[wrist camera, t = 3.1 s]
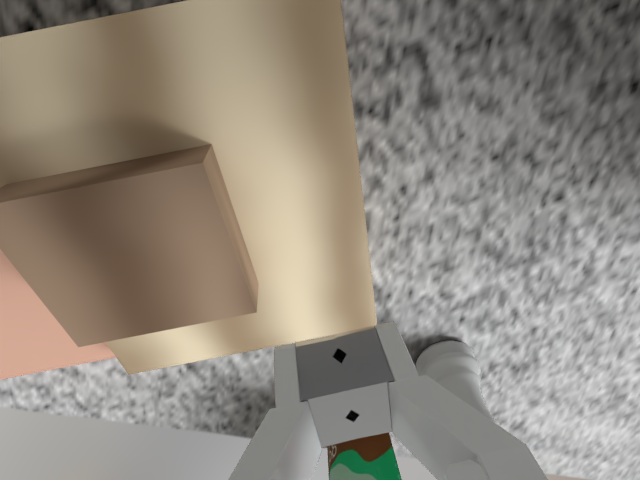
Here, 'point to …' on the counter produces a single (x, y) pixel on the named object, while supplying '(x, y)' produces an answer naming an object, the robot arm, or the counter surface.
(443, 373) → the rook chess piece
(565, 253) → the counter surface
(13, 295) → the salmon pink pad
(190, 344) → the oak board
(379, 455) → the food container
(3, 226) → the walnut tile
